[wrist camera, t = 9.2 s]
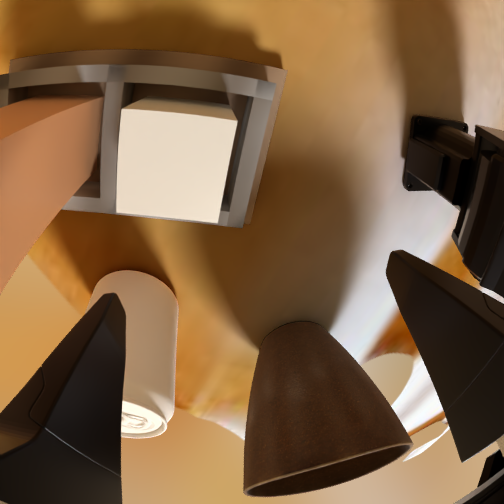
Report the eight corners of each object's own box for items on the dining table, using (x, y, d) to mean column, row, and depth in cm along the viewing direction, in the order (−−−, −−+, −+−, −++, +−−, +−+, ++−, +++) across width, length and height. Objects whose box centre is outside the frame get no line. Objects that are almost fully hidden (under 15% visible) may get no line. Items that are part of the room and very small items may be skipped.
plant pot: (375, 334, 34) (426, 447, 21) (280, 389, 38) (303, 496, 25) (314, 267, 26) (385, 437, 13) (198, 347, 31) (205, 494, 18)
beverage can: (113, 249, 23) (70, 375, 13) (195, 292, 26) (196, 418, 16) (84, 306, 26) (52, 415, 16) (155, 339, 29) (147, 447, 20)
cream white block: (229, 105, 17) (237, 121, 12) (215, 179, 19) (217, 223, 14) (148, 95, 16) (121, 108, 11) (140, 170, 18) (116, 212, 13)
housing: (283, 70, 17) (298, 71, 14) (248, 216, 23) (254, 243, 20) (19, 58, 13) (-11, 62, 10) (19, 194, 18) (-4, 216, 15)
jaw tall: (104, 96, 15) (-42, 165, 4) (96, 169, 18) (-8, 307, 7) (39, 95, 14) (-112, 166, 3) (36, 164, 16) (-82, 280, 6)
